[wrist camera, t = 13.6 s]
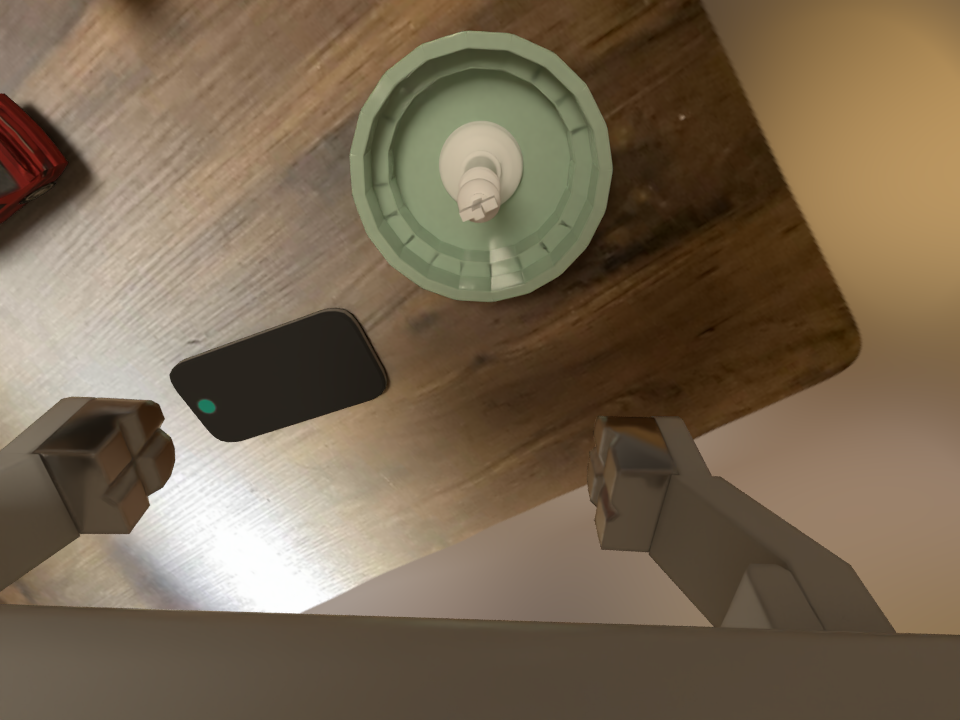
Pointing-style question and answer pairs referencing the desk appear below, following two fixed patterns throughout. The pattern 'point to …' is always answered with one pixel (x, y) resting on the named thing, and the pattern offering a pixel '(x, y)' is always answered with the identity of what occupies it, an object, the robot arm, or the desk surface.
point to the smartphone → (281, 376)
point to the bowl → (543, 186)
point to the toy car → (24, 159)
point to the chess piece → (480, 168)
